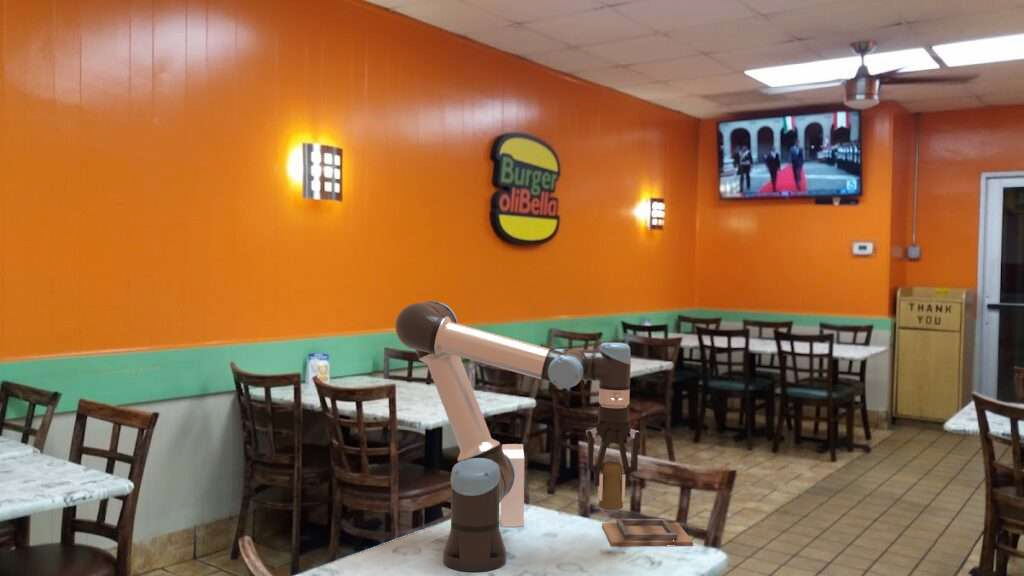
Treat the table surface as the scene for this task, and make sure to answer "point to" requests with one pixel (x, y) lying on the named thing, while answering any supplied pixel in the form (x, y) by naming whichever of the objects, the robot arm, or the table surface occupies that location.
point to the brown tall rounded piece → (611, 486)
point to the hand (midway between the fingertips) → (611, 498)
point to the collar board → (645, 533)
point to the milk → (514, 489)
